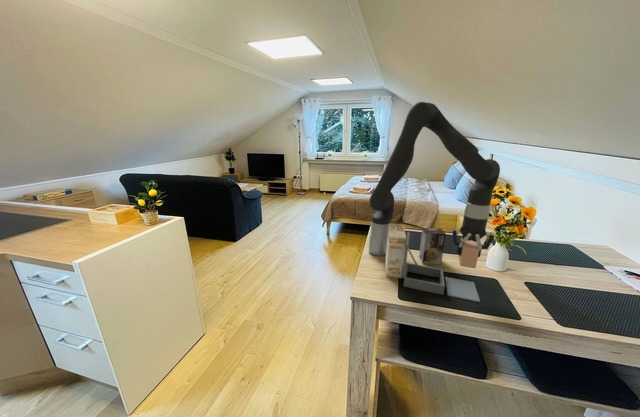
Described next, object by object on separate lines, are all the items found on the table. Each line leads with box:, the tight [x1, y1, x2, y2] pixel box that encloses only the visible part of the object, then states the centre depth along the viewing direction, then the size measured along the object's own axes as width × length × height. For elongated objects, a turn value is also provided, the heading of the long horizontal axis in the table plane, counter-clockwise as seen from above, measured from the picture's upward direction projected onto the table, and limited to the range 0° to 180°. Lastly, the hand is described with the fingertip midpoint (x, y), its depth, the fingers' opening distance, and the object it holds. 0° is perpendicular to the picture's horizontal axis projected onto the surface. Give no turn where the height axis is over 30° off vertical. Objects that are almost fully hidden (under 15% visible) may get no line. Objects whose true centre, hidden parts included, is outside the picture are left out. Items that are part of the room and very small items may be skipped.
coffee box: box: [418, 227, 447, 265], centre depth 120 cm, size 9×6×16 cm
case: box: [401, 231, 446, 296], centre depth 103 cm, size 16×13×19 cm
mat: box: [444, 276, 481, 303], centre depth 101 cm, size 11×13×1 cm
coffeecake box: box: [384, 223, 407, 279], centre depth 113 cm, size 15×7×20 cm, turn 166°
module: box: [457, 241, 479, 269], centre depth 96 cm, size 5×7×8 cm
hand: (467, 256), depth 96 cm, fingers closed on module, 5 cm apart
